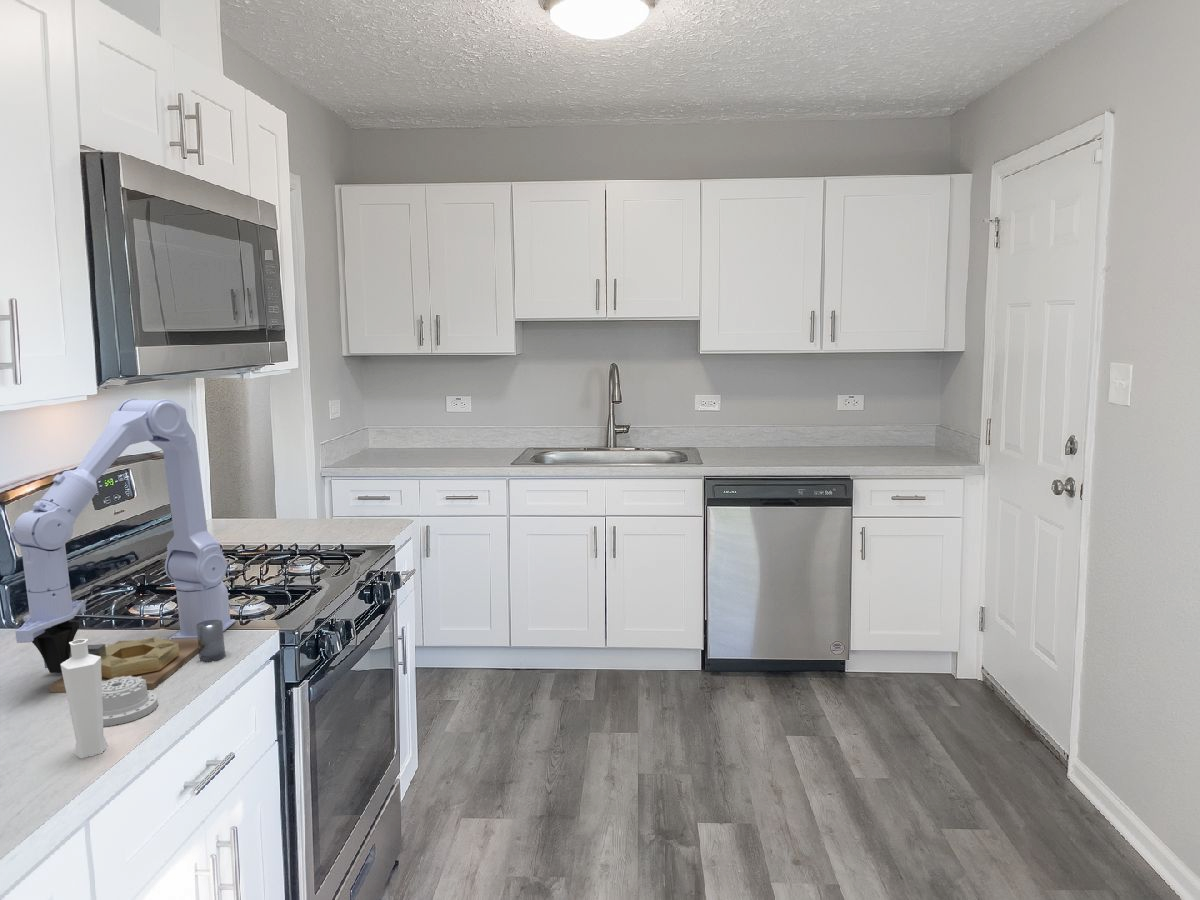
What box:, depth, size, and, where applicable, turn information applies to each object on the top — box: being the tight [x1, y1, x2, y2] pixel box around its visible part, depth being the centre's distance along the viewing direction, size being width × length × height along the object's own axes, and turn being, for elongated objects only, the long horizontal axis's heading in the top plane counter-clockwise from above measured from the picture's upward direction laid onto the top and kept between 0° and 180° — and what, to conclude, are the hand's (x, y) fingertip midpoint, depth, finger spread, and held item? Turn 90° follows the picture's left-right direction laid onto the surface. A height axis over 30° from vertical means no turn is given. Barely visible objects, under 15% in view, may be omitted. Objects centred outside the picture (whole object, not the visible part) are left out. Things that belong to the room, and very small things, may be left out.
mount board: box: [49, 638, 199, 693], centre depth 147 cm, size 20×16×1 cm
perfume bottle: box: [60, 638, 109, 759], centre depth 116 cm, size 5×4×15 cm
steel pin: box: [196, 620, 226, 663], centre depth 149 cm, size 4×4×6 cm
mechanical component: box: [102, 676, 159, 727], centre depth 129 cm, size 10×4×10 cm
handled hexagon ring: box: [43, 636, 179, 679], centre depth 144 cm, size 20×13×3 cm
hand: (58, 671), depth 139 cm, fingers closed
